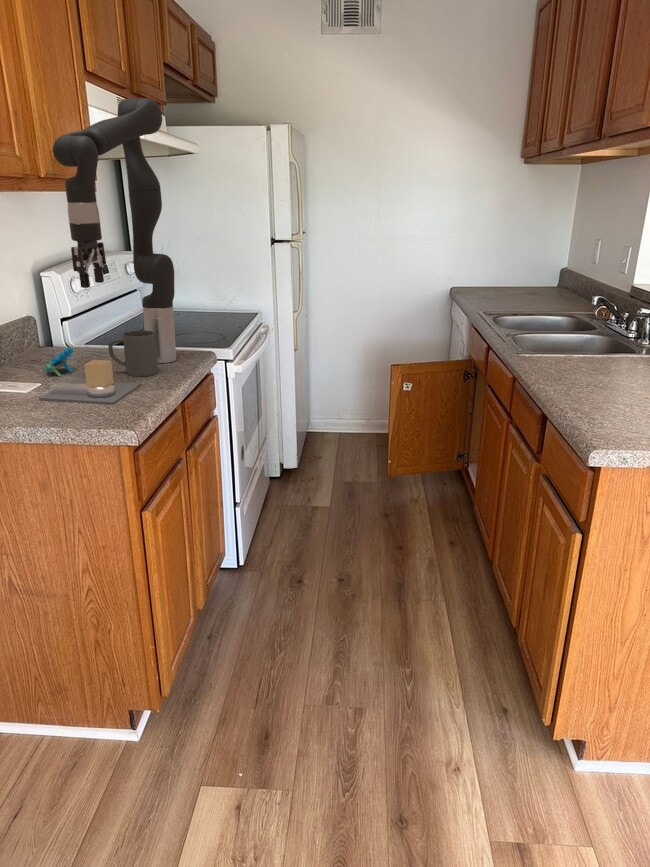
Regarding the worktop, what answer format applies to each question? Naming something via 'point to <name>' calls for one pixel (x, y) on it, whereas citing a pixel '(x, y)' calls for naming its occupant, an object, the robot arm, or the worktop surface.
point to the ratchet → (82, 390)
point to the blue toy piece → (60, 362)
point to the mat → (120, 392)
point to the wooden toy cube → (99, 373)
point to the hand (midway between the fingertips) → (92, 285)
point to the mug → (138, 353)
